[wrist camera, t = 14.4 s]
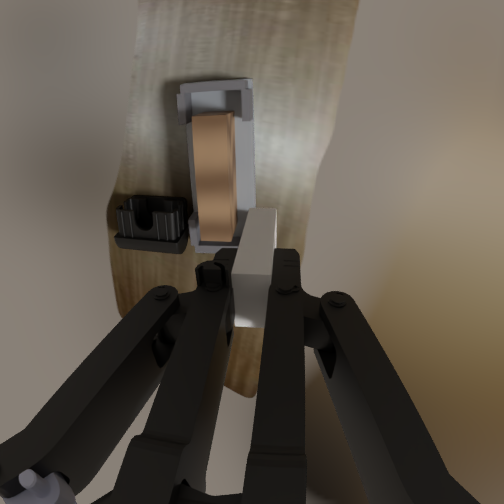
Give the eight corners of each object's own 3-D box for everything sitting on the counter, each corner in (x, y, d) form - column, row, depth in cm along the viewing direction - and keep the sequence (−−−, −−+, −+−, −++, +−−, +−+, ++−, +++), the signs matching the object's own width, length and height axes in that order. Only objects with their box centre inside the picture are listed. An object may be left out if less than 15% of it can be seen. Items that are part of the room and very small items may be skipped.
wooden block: (204, 111, 39) (191, 116, 33) (234, 110, 38) (226, 115, 33) (210, 221, 47) (200, 240, 41) (237, 222, 46) (231, 241, 41)
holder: (185, 83, 38) (176, 83, 34) (252, 78, 37) (249, 78, 33) (199, 240, 50) (192, 253, 46) (256, 242, 49) (254, 255, 45)
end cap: (134, 234, 50) (116, 255, 45) (129, 194, 47) (109, 211, 41) (191, 239, 50) (178, 262, 44) (189, 197, 46) (175, 216, 40)
